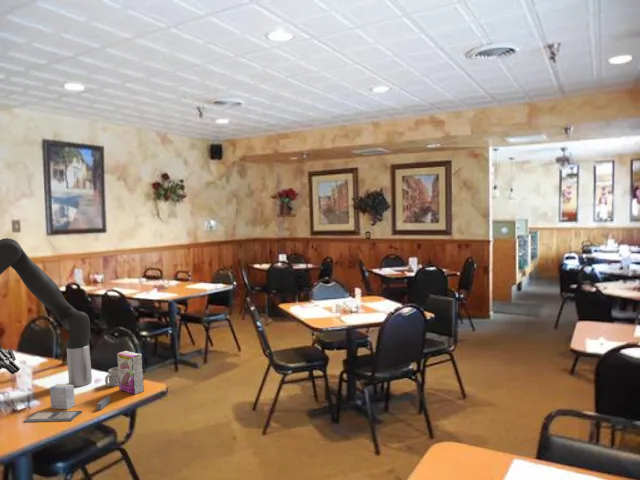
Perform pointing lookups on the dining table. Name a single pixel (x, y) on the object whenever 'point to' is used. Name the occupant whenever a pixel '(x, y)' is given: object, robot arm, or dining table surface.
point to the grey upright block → (62, 396)
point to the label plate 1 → (40, 416)
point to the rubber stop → (103, 403)
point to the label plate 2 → (65, 416)
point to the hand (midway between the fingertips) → (16, 371)
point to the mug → (112, 377)
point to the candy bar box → (130, 372)
